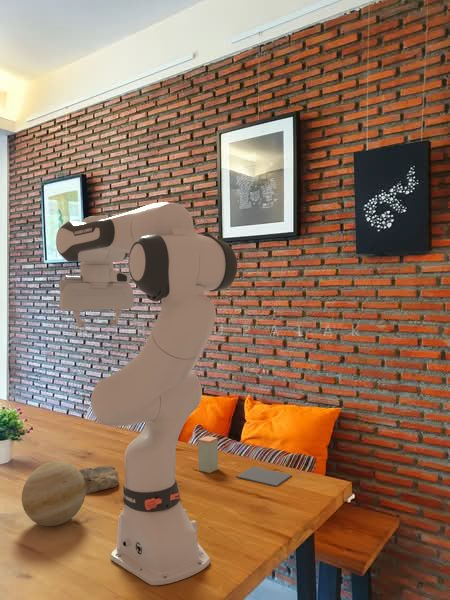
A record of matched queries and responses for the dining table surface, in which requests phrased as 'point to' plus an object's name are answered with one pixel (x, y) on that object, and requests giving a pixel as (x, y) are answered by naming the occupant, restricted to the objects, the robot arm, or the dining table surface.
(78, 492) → the decorative ball
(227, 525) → the dining table surface
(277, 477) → the mat
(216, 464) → the block
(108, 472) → the grey rock
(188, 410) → the robot arm
